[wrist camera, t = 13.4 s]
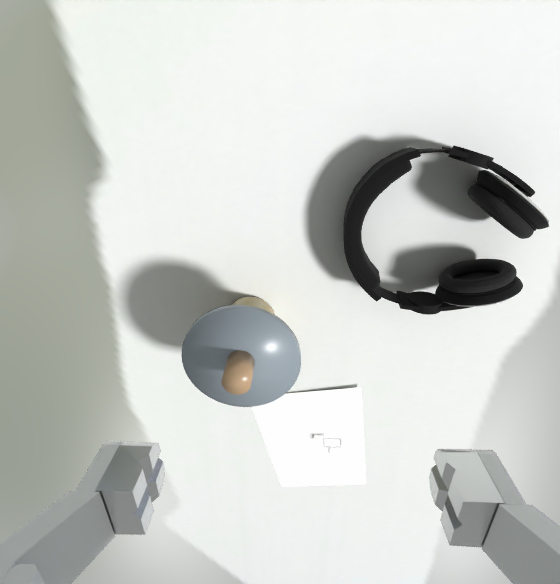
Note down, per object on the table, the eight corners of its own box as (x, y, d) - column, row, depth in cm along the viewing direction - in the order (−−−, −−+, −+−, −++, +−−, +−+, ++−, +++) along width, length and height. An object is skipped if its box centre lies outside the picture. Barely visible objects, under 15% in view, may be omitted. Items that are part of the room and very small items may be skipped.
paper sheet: (364, 489, 63) (365, 495, 62) (201, 483, 66) (199, 489, 65) (373, 383, 53) (374, 388, 52) (178, 381, 55) (175, 386, 54)
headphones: (517, 339, 39) (330, 308, 41) (490, 305, 46) (331, 280, 48) (599, 164, 31) (362, 136, 33) (551, 156, 38) (358, 133, 40)
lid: (176, 304, 38) (161, 327, 34) (300, 304, 37) (301, 328, 33) (192, 400, 44) (181, 429, 40) (300, 401, 43) (300, 431, 39)
